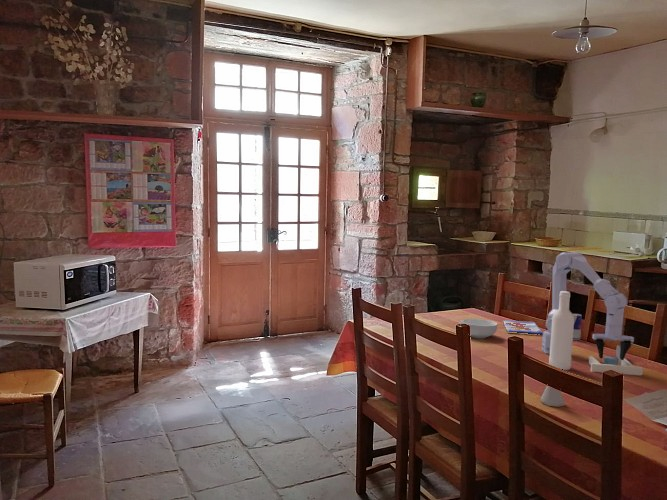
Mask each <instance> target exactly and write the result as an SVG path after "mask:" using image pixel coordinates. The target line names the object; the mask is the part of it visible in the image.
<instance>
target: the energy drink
mask: <svg viewBox="0 0 667 500" xmlns="http://www.w3.org/2000/svg"><path fill="white" fill-rule="evenodd" d="M572 314H573V317H574V328H573V340H579V341H580V340H581V337H582V336H581V333H582V321H583V320H582V319H583V316H582V314H579V313H572Z"/></svg>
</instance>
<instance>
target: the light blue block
mask: <svg viewBox="0 0 667 500" xmlns="http://www.w3.org/2000/svg"><path fill="white" fill-rule="evenodd" d="M603 364H610V365H619V360H618V358H617V357H613V356H603Z"/></svg>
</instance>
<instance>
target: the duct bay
mask: <svg viewBox="0 0 667 500" xmlns="http://www.w3.org/2000/svg"><path fill="white" fill-rule="evenodd" d="M588 364H589V365H590V372H593V373H594V372H595V373H603V371H606V370H614V371H617V372H620V373H623V374H622V375H630V376H641V375H642V376H643V370H644V369H643V367H642V366H638V365H637V366H635V365H634V364H633V363H632V362H630V361H628V359H626V357H625V358H624V360H621V363H620V364H618V365H610V364H604V363H600V361H599V360H597V359H596V358H595V357H594V356H593V355H589V356H588Z"/></svg>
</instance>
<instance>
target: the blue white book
mask: <svg viewBox="0 0 667 500" xmlns="http://www.w3.org/2000/svg"><path fill="white" fill-rule="evenodd" d="M502 322H504V325H505V327H506V329H507V331H508V332H517V333H528V334H537V335H538V334H540V335H542V336H543V332H544V331H542V330H541V329H540V328H539V326H538V325H537V324H536V322H535V321H524V320H523V321H522V320H519V321H518V320H512V319H504V320H502ZM506 323H511V324H513V323H520V324H526V325H523V326H525V327H524V328H529V329H531V330H525V329H520V330H515V328H511V327H516V326H512V325H509V324H506ZM513 325H516V324H513ZM518 326H520V325H518ZM516 329H517V328H516ZM507 331H506V332H507Z"/></svg>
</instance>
